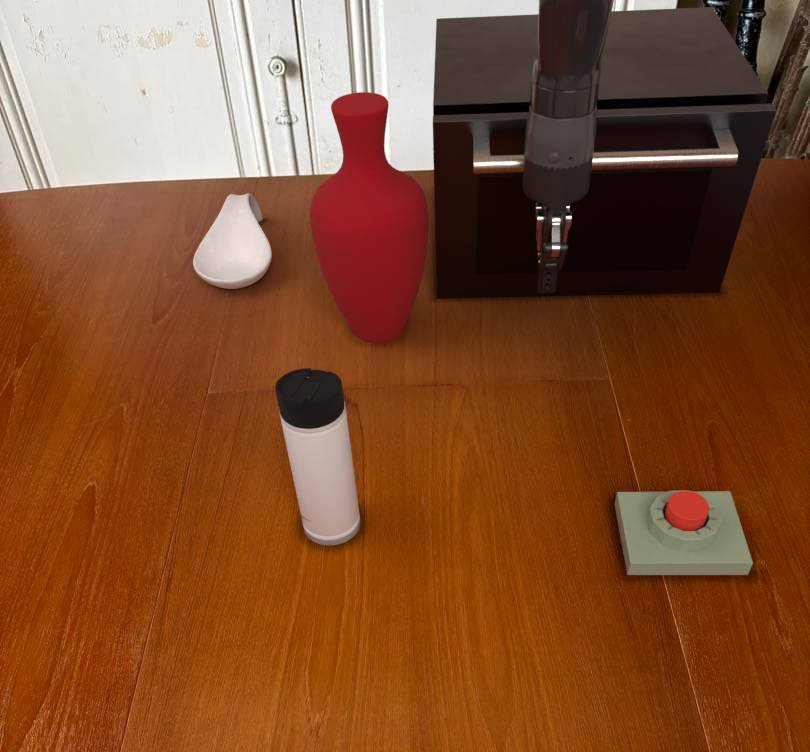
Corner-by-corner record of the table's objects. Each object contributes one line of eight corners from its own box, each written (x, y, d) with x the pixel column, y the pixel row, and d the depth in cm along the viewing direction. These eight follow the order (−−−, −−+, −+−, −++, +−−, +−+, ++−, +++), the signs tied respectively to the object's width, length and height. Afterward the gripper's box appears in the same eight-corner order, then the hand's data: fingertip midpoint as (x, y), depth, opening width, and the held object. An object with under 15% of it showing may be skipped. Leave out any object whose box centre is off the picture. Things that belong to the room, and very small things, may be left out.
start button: (701, 502, 84) (704, 490, 83) (709, 531, 82) (713, 519, 80) (661, 502, 84) (665, 490, 83) (668, 531, 82) (672, 519, 81)
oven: (716, 287, 116) (768, 93, 97) (437, 293, 119) (433, 105, 99) (675, 183, 137) (712, 6, 118) (439, 190, 140) (436, 18, 120)
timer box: (725, 505, 89) (734, 479, 86) (747, 576, 82) (758, 551, 79) (614, 505, 89) (619, 479, 86) (626, 576, 83) (633, 551, 80)
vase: (448, 312, 115) (446, 85, 93) (404, 372, 107) (390, 137, 84) (356, 292, 120) (332, 71, 97) (307, 348, 111) (269, 119, 89)
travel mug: (294, 543, 88) (260, 397, 73) (316, 500, 92) (289, 354, 77) (348, 554, 87) (325, 408, 72) (368, 511, 91) (351, 364, 76)
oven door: (726, 319, 112) (788, 134, 91) (436, 324, 114) (432, 146, 94) (717, 287, 116) (773, 103, 95) (436, 293, 119) (432, 115, 98)
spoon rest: (273, 298, 120) (264, 253, 115) (194, 303, 120) (181, 258, 115) (282, 219, 136) (275, 176, 130) (212, 224, 136) (202, 181, 130)
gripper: (600, 176, 84) (581, 319, 97) (587, 123, 93) (571, 261, 106) (527, 177, 85) (518, 320, 98) (521, 125, 94) (514, 262, 107)
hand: (546, 289), depth 102 cm, fingers closed
